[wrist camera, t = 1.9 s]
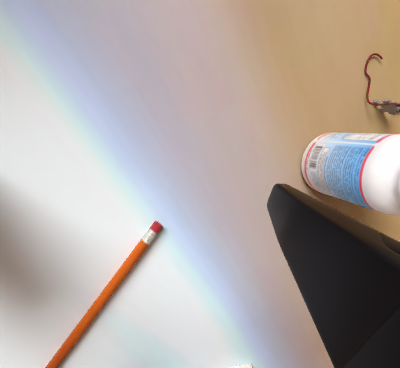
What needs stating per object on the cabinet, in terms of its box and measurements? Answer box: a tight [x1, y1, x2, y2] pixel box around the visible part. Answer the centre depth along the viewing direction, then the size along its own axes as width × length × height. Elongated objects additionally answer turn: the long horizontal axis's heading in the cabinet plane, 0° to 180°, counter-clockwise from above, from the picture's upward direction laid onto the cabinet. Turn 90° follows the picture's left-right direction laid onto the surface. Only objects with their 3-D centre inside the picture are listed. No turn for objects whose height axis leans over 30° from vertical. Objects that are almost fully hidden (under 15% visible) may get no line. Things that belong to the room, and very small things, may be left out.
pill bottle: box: [301, 133, 400, 215], centre depth 22 cm, size 6×6×11 cm
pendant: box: [365, 53, 400, 115], centre depth 27 cm, size 8×4×3 cm, turn 57°
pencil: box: [46, 221, 162, 368], centre depth 24 cm, size 1×19×1 cm, turn 142°
